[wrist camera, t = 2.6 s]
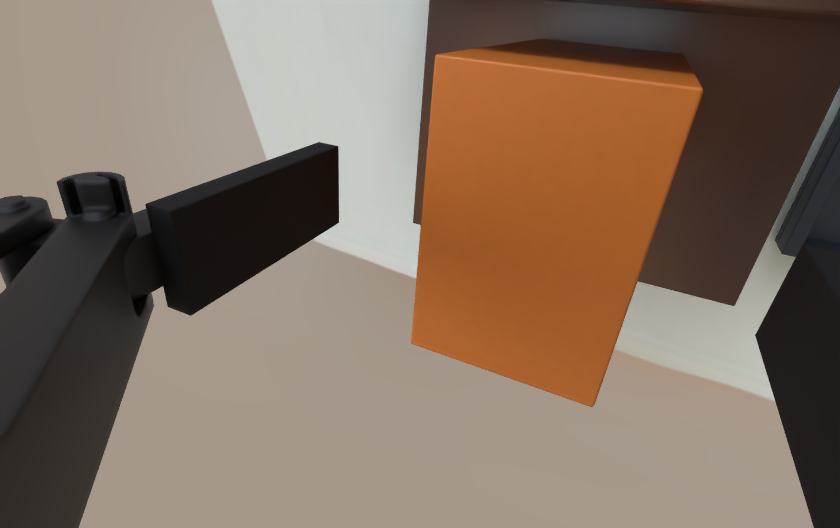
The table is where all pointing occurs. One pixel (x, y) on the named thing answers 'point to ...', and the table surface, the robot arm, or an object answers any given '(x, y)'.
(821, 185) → the tray
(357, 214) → the table surface
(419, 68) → the table surface
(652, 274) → the shelf
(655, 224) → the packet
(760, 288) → the table surface
